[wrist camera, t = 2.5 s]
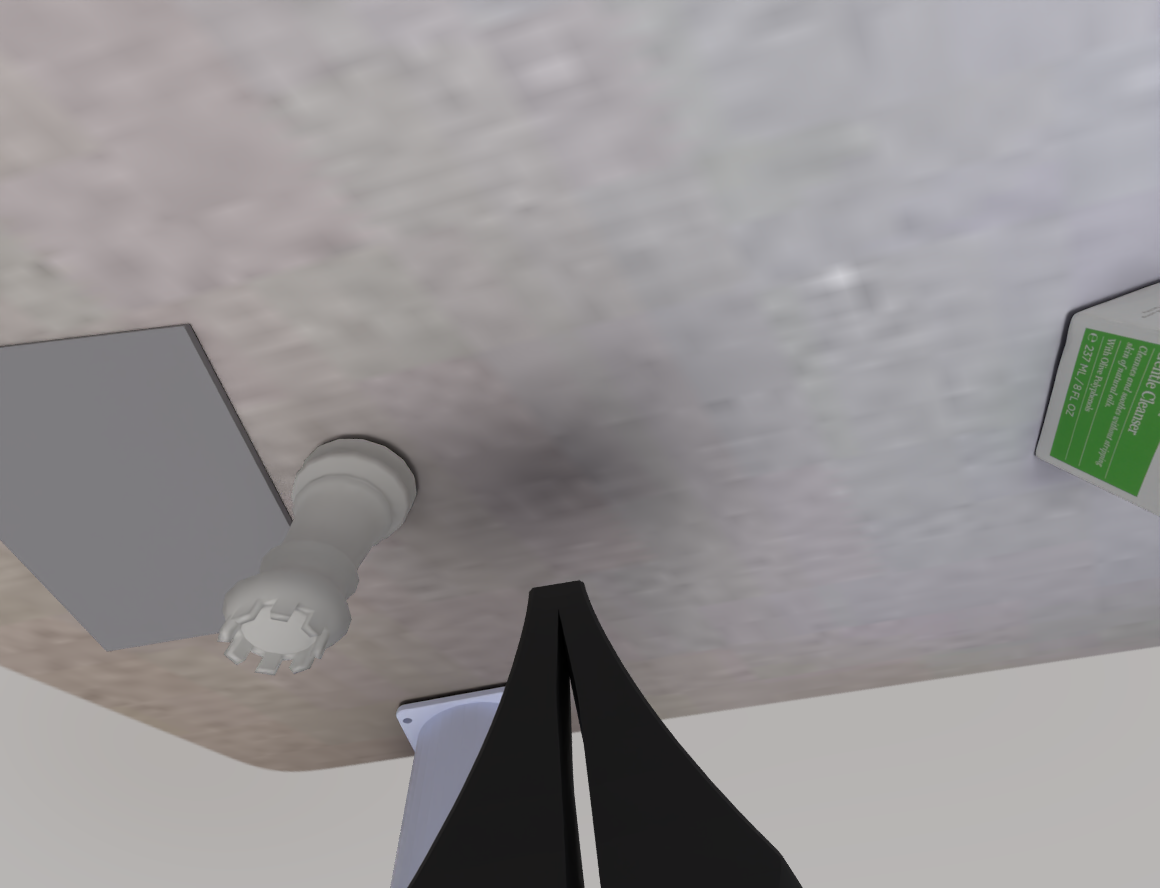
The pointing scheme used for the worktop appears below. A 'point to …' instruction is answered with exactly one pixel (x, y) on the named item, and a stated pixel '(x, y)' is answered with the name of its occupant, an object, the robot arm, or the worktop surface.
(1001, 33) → the worktop surface
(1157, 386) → the skincare box
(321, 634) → the rook chess piece
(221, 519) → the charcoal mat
